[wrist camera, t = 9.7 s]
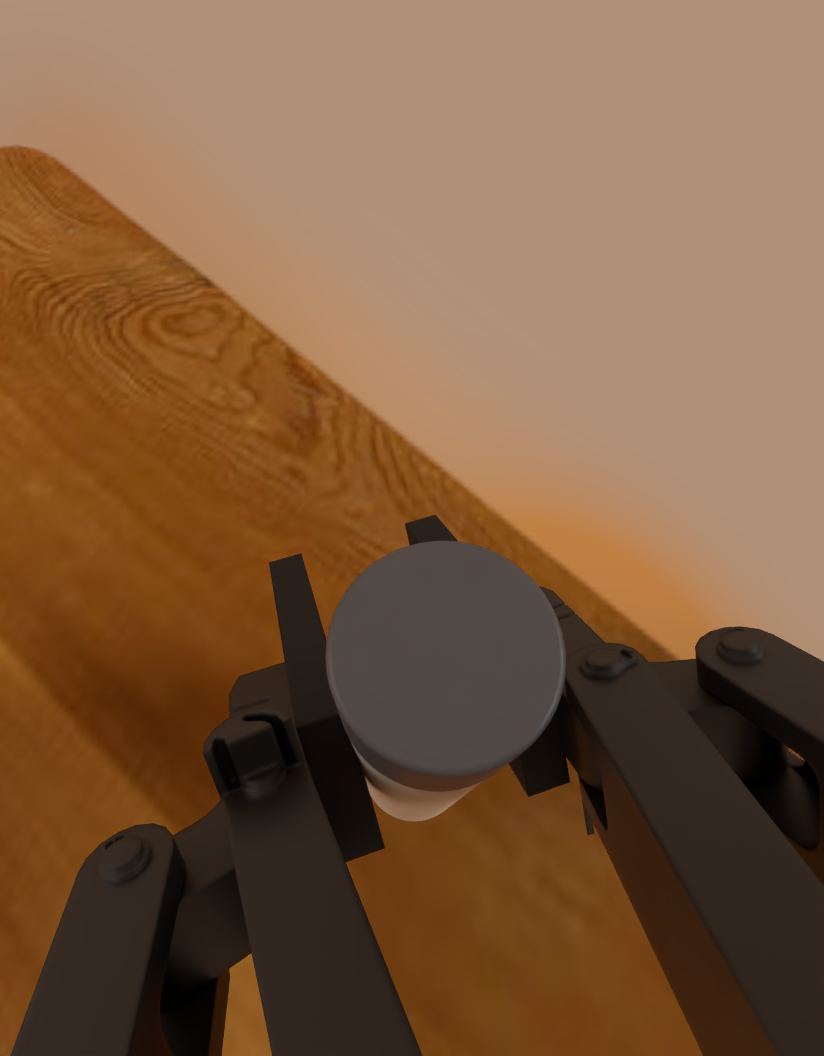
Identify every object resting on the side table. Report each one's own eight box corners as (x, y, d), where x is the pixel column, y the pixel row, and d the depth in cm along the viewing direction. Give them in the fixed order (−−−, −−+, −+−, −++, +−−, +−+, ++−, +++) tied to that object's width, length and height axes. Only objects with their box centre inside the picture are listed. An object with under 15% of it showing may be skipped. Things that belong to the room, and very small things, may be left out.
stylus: (472, 727, 19) (580, 562, 8) (454, 832, 18) (551, 804, 7) (375, 706, 19) (357, 516, 8) (352, 809, 18) (295, 746, 7)
